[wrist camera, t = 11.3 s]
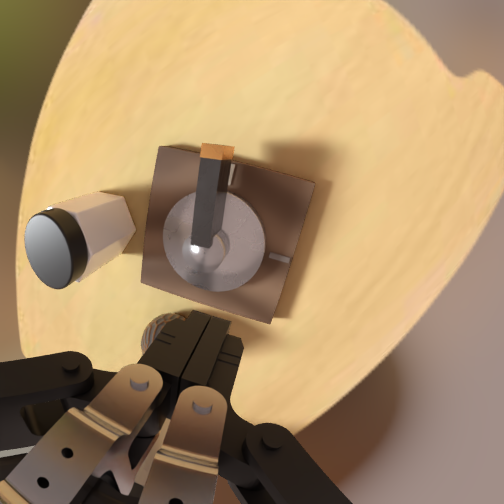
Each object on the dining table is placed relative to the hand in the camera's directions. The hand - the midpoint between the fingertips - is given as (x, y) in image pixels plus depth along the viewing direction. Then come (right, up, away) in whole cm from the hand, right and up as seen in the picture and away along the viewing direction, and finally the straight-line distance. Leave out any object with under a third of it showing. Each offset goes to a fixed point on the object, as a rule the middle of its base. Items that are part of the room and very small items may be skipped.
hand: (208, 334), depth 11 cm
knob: (-2, +7, +19) cm, 21 cm away
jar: (-17, +7, +24) cm, 30 cm away
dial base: (-2, +5, +22) cm, 22 cm away
